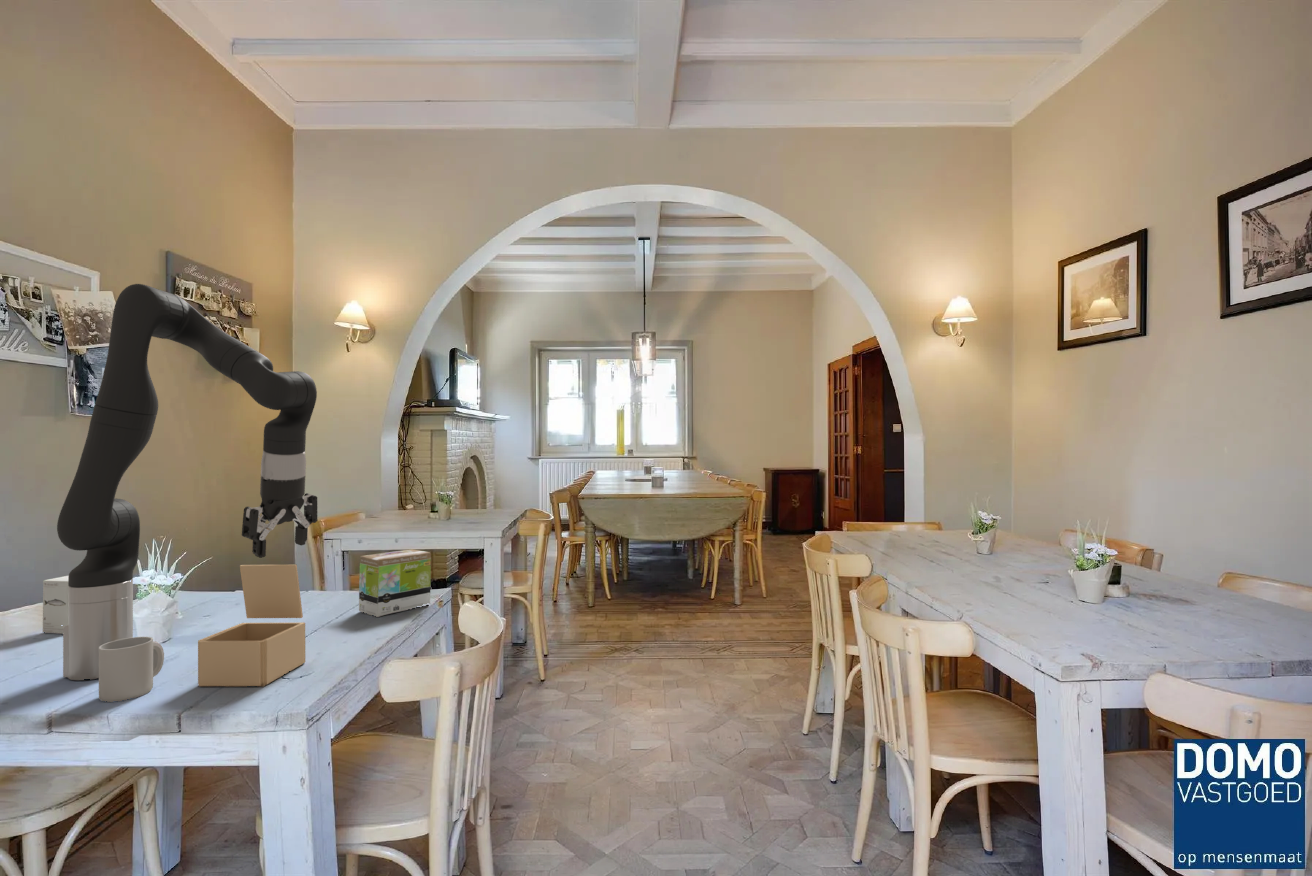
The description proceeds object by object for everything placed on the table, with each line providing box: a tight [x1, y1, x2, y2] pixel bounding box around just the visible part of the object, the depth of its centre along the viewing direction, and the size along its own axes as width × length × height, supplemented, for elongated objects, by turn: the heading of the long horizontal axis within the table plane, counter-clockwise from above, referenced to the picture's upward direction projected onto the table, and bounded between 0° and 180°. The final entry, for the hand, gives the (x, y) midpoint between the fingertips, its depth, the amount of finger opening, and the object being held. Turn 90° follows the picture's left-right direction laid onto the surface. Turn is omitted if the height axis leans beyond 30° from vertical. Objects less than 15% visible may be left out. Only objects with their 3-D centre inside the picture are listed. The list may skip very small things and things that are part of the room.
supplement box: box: [42, 575, 69, 634], centre depth 147 cm, size 7×7×13 cm
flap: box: [239, 563, 304, 619], centre depth 120 cm, size 11×1×11 cm, turn 88°
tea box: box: [358, 548, 432, 618], centre depth 162 cm, size 15×10×15 cm
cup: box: [98, 636, 165, 703], centre depth 108 cm, size 7×10×9 cm
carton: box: [197, 621, 306, 688], centre depth 115 cm, size 13×12×8 cm
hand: (280, 550), depth 122 cm, fingers open, 8 cm apart
